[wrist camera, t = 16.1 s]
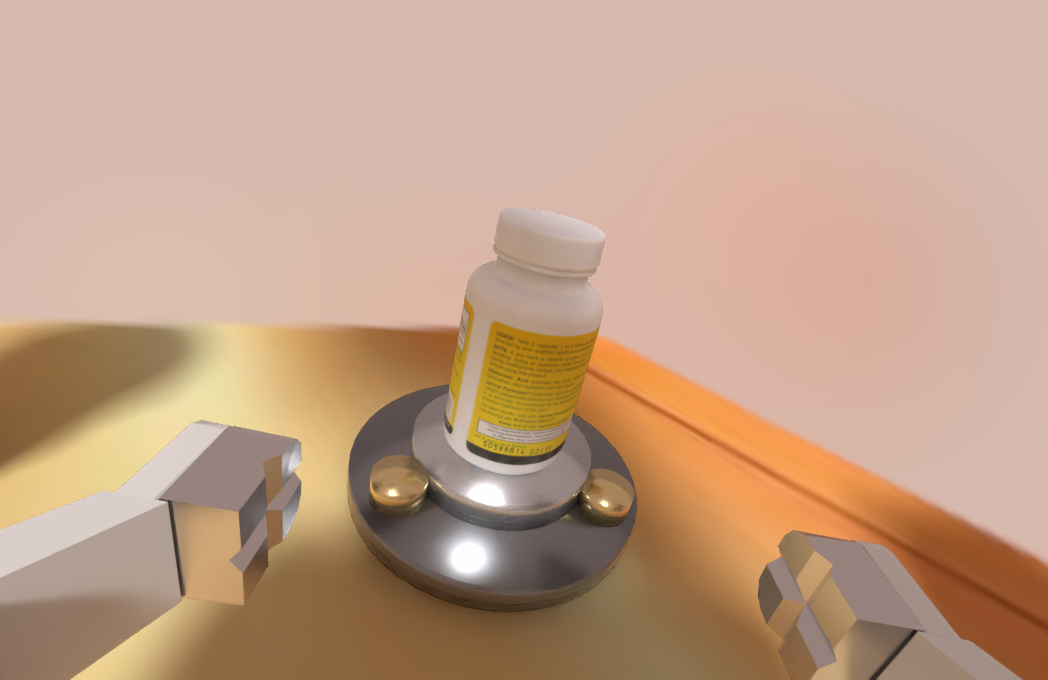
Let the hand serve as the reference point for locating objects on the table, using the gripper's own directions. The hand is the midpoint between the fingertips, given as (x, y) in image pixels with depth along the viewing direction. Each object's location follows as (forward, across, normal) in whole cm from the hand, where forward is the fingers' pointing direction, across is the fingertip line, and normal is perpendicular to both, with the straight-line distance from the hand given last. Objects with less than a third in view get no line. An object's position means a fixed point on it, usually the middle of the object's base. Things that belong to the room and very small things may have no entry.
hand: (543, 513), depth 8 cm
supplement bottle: (+12, 0, +8) cm, 14 cm away
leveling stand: (+12, 0, +10) cm, 16 cm away
